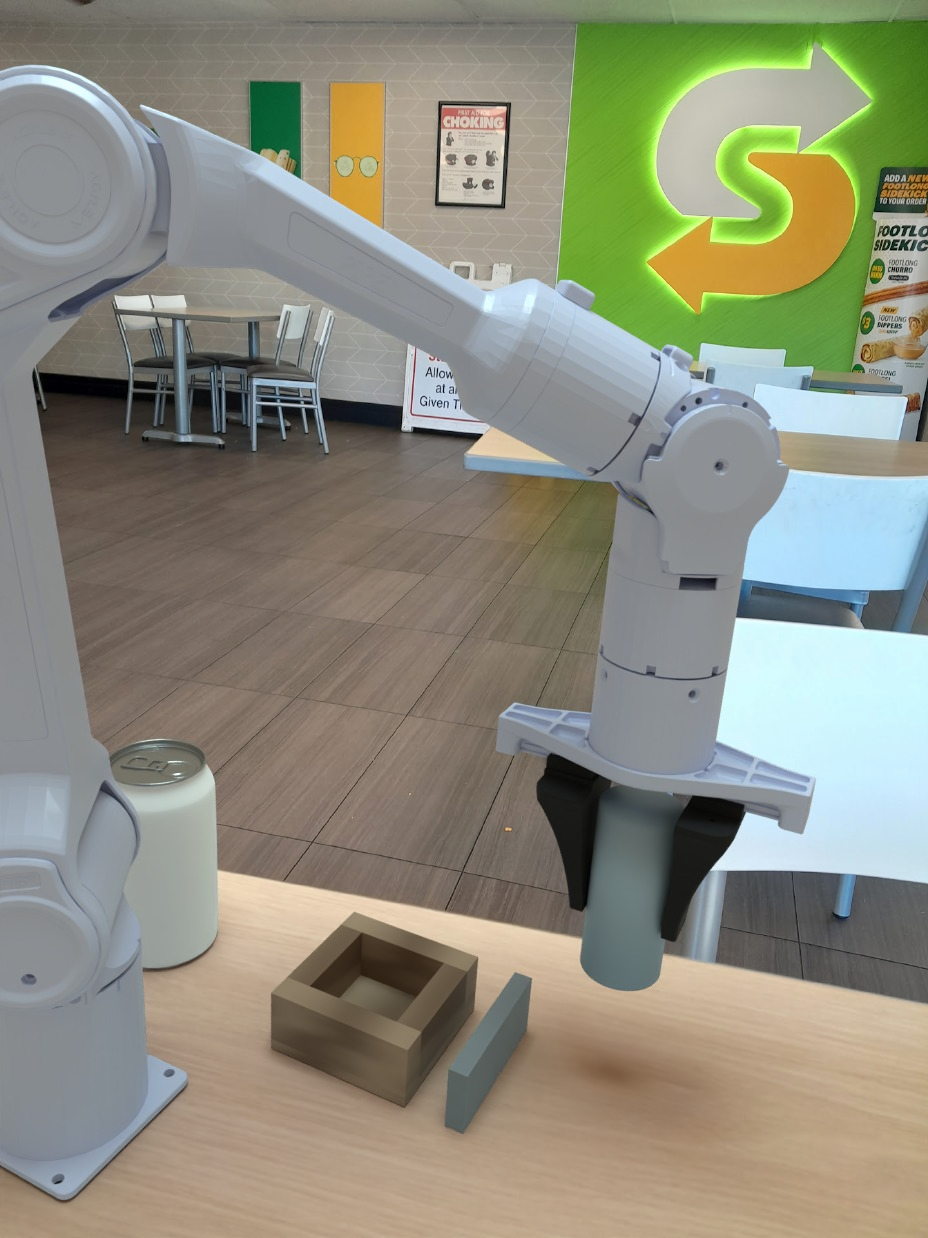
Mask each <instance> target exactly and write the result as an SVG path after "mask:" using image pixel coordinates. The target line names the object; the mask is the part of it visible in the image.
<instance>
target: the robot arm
mask: <svg viewBox="0 0 928 1238" xmlns="http://www.w3.org/2000/svg"><path fill="white" fill-rule="evenodd" d="M139 108H140V110H141V111H142V112H143V114H144V115H145V117H146V118H147V119H148V121H150V124H151V126H152V127H153V129H154V130H155V132H156V133H155V132H154V131H153V130H152V129H150V128H149V127H147V126H146V125H145V124H143V123H142V122H141V121H140V120H138V119H135V118H134V117H132V116H131V114H130V113H129V112H128V110H127V109H126V108H125V106H123V105H122V104H121V103H120V102H119V101H118V100H117V99H116V98H115V97H114V95H112V94H111V93H109V92H108V91H107V90H105V89H104V88H102V87H101V86H100V85H98V83H95V82H94V81H91V80H90V79H88V78H87V77H85V76H83V75H81V74H78V73H75V72H72V71H70V70H67V69H65V68H61V67H57V66H56V67H55V66H51V65H43V64H42V65H41V64H25V65H20V66H19V65H18V66H12V67H9V68H6V69H3V70H0V1166H1V1167H2V1168H5V1170H7V1171H10V1172H11V1173H13V1174H15V1175H17V1176H18V1177H20V1178H21V1179H23V1180H25V1181H26V1182H29V1183H30V1184H31V1185H33V1186H35V1187H37V1188H38V1189H40V1190H42V1191H44V1192H46V1193H48V1194H49V1195H51V1196H53V1197H54V1198H56V1199H58V1200H60V1201H66V1200H70V1199H72V1198H73V1197H75V1196H76V1195H77V1194H78V1193H79V1192H81V1190H82V1189H83V1188H85V1186H86V1185H87V1184H88V1183H89V1182H90V1181H91V1180H92V1179H93V1178H94V1177H95V1176H96V1175H98V1173H100V1171H101V1170H102V1169H104V1168H105V1166H106V1165H107V1164H109V1163H110V1161H112V1160H113V1158H114V1157H116V1155H118V1154H119V1152H120V1151H121V1150H123V1148H125V1146H127V1144H128V1143H130V1142H131V1140H133V1139H134V1137H136V1136H137V1135H138V1134H139V1133H140V1132H141V1131H142V1130H143V1128H144V1127H146V1126H147V1124H149V1123H150V1122H151V1121H152V1120H153V1119H154V1118H155V1117H156V1116H157V1115H158V1114H159V1113H160V1112H161V1111H162V1110H163V1109H164V1108H165V1107H166V1106H167V1105H168V1104H169V1103H170V1102H171V1101H172V1100H173V1099H174V1098H175V1097H176V1096H177V1095H178V1094H179V1093H180V1092H181V1091H182V1090H183V1089H184V1088H185V1087H186V1086H187V1084H188V1081H189V1078H188V1073H187V1072H186V1071H185V1070H183V1069H181V1068H179V1067H177V1066H175V1065H173V1064H171V1063H169V1062H167V1061H164V1060H162V1059H160V1058H158V1057H156V1056H154V1055H151V1054H149V1053H148V1050H147V1049H148V1046H147V1027H146V1009H145V1006H146V1005H145V1004H146V1003H145V989H144V987H145V986H144V974H143V973H144V971H143V970H144V969H143V965H142V945H141V929H140V924H139V922H138V919H137V917H136V916H135V914H134V912H133V910H132V909H131V907H130V905H129V903H128V901H127V899H126V897H125V894H124V892H123V889H124V886H125V883H126V879H127V876H128V873H129V869H130V867H131V865H132V863H133V861H134V860H135V858H136V856H137V855H138V852H139V848H140V844H141V837H142V830H141V823H140V819H139V816H138V813H137V811H136V809H135V808H134V806H133V804H132V803H131V802H130V800H129V799H128V798H127V797H126V795H125V794H124V793H123V792H122V791H121V790H120V788H119V786H118V785H117V783H116V781H115V779H114V777H113V774H112V770H111V766H110V760H109V755H110V754H109V751H108V749H107V748H106V747H105V746H104V745H103V744H102V743H101V742H100V741H98V740H97V739H96V738H94V736H93V734H92V732H91V731H92V730H91V725H90V720H89V719H90V718H89V714H88V707H87V701H86V696H85V688H84V683H83V677H82V671H81V666H80V660H79V658H80V657H79V654H78V653H79V652H78V647H77V642H76V641H77V640H76V635H75V634H76V633H75V628H74V623H73V617H72V610H71V604H70V600H69V599H70V598H69V593H68V592H69V591H68V586H67V581H66V576H65V575H66V574H65V568H64V563H63V557H62V550H61V545H60V544H61V543H60V539H59V531H58V526H57V520H56V514H55V510H54V509H55V508H54V503H53V496H52V489H51V482H50V478H49V477H50V476H49V472H48V467H47V466H48V465H47V460H46V454H45V446H44V442H43V441H44V440H43V435H42V430H41V429H42V428H41V423H40V418H39V417H40V416H39V412H38V410H39V409H38V405H37V398H36V393H35V388H34V381H33V372H34V369H35V367H36V365H37V364H38V363H39V362H40V361H41V360H42V359H44V357H45V356H46V355H47V354H48V352H50V351H51V350H52V349H53V347H54V346H55V345H56V344H57V343H58V342H59V341H60V340H61V338H63V337H64V336H65V335H66V333H68V331H69V330H70V329H71V328H72V327H73V326H74V325H75V324H76V323H77V321H79V320H80V319H81V318H82V316H83V315H84V312H85V310H87V309H88V308H89V307H90V306H92V305H94V304H96V303H98V302H100V301H102V300H103V299H105V298H107V297H108V296H110V295H113V294H114V293H116V292H119V291H121V290H122V289H125V288H126V287H128V286H131V284H133V283H135V282H137V281H138V280H140V279H142V278H144V277H146V276H148V275H149V274H151V273H154V271H156V270H158V269H159V268H160V267H161V266H162V265H163V264H164V263H166V266H167V267H169V268H173V267H174V268H199V269H200V268H203V269H204V268H205V269H206V268H207V269H210V268H211V269H243V270H244V269H245V270H247V269H248V270H257V271H260V272H263V273H267V274H268V275H270V276H273V277H274V278H276V279H278V280H281V281H282V282H285V283H287V284H288V285H290V286H292V287H294V288H296V289H299V290H300V291H302V292H304V293H306V294H309V295H310V296H312V297H314V298H316V299H318V300H320V301H322V302H324V303H326V304H328V305H330V306H333V307H334V308H336V309H339V310H340V311H342V312H344V313H346V314H349V315H350V316H352V317H354V318H355V319H356V318H357V320H360V321H362V322H364V323H365V324H368V325H369V326H372V327H373V328H375V329H378V330H380V331H382V332H384V333H386V334H388V335H389V336H392V337H393V338H396V339H398V340H400V341H401V342H404V343H405V344H408V345H409V346H411V347H413V348H415V349H418V350H420V351H421V352H424V353H426V354H427V355H430V356H432V357H434V358H436V359H437V360H439V361H442V362H443V363H445V364H446V365H447V366H448V368H449V370H450V373H451V375H452V378H453V381H454V386H455V388H456V389H455V390H456V394H457V396H458V399H459V403H460V405H461V407H462V410H463V411H464V413H466V415H469V416H470V417H473V418H474V419H476V420H478V421H480V422H482V423H485V424H486V425H489V427H492V428H494V429H496V430H498V431H499V432H502V433H504V434H506V436H510V437H511V438H513V439H515V440H517V441H519V442H521V443H523V444H525V445H527V446H529V447H531V448H532V449H534V450H536V451H538V452H540V453H542V454H544V455H545V456H548V457H549V458H552V459H553V460H555V461H557V462H559V463H560V464H563V465H565V466H566V467H569V468H571V469H573V470H574V471H576V472H578V473H580V474H582V475H584V476H585V477H587V478H590V479H591V480H593V481H596V482H610V483H611V484H612V486H613V487H614V488H615V489H616V491H618V492H619V493H618V494H617V501H616V510H615V516H614V517H615V520H614V528H613V536H612V545H611V547H610V550H609V557H608V566H607V574H606V583H605V589H604V590H605V592H604V599H603V600H604V601H603V609H602V618H601V627H600V635H599V642H598V643H599V644H598V651H597V659H596V660H597V661H596V667H595V668H596V669H595V676H594V685H593V693H592V701H591V704H592V705H591V711H590V712H587V711H586V712H585V711H574V710H566V709H555V708H548V707H547V708H545V707H539V706H533V705H528V704H523V703H519V702H513V703H512V704H511V705H510V706H508V707H507V708H506V709H505V710H504V711H503V712H501V713H500V714H499V715H498V722H497V731H496V741H495V743H496V744H495V745H496V746H495V751H496V752H499V753H502V754H506V755H510V756H517V755H519V754H520V753H521V752H523V753H526V754H530V755H534V756H538V757H540V758H545V759H546V763H545V767H544V769H543V775H542V776H541V777H540V778H539V779H538V780H537V782H536V785H535V789H536V801H537V803H538V804H539V805H540V808H541V809H542V811H543V813H544V815H545V817H546V818H547V820H548V823H549V825H550V828H551V830H552V833H553V834H554V835H553V836H554V837H555V839H556V842H557V846H558V849H559V852H560V856H561V860H562V864H563V869H564V873H565V878H566V879H565V880H566V884H567V893H568V904H569V908H570V909H572V910H575V911H578V912H581V913H583V912H584V910H585V909H586V904H587V896H588V888H589V879H590V871H591V863H592V855H593V846H594V838H595V830H596V822H597V814H598V805H599V798H600V795H601V794H602V793H603V792H604V791H605V790H607V789H609V788H611V787H612V782H615V783H617V784H619V785H625V786H629V787H633V788H637V789H642V790H648V791H656V792H666V793H669V794H678V795H681V796H684V797H689V798H690V799H689V801H688V803H687V804H686V805H685V806H684V810H683V812H682V814H681V815H680V817H679V819H678V821H677V822H676V824H675V829H674V852H673V867H672V878H671V886H670V891H669V895H668V900H667V904H666V908H665V912H664V916H663V921H662V927H661V938H662V939H665V941H668V942H671V943H675V942H677V940H678V938H679V935H680V933H681V932H682V928H683V927H684V924H685V922H686V919H687V916H688V915H687V914H688V913H689V912H688V911H689V907H690V905H691V902H692V899H693V897H694V895H695V893H696V892H697V890H698V889H699V887H700V885H702V883H703V881H704V880H705V878H706V877H707V875H708V874H709V873H710V871H711V870H712V869H713V868H714V866H716V864H717V863H718V862H719V861H720V860H721V859H722V857H723V856H724V855H725V853H726V852H727V851H728V849H729V848H730V847H731V845H732V844H733V842H734V840H735V839H736V837H737V834H738V832H739V829H740V827H741V826H742V823H743V821H744V819H745V816H746V813H749V814H752V815H755V816H760V817H763V818H767V819H770V820H774V821H777V826H778V827H779V828H780V829H782V831H783V830H784V831H788V832H791V833H795V834H798V835H799V834H800V835H803V834H804V832H805V829H806V825H807V823H808V819H809V815H810V811H811V807H812V801H813V797H814V791H815V785H816V781H817V778H816V777H815V776H812V775H809V774H806V773H805V774H804V773H802V772H801V773H800V772H797V771H793V770H791V769H789V768H788V769H787V768H785V767H782V766H780V765H777V764H774V763H772V762H769V761H768V760H765V759H762V758H760V757H757V756H755V755H753V754H750V753H747V752H746V751H744V750H741V749H739V748H736V747H733V746H731V745H728V744H726V743H724V742H722V741H719V740H717V736H718V729H719V723H720V718H721V712H722V707H723V706H722V705H723V700H724V693H725V686H726V680H727V675H728V674H727V673H728V669H729V668H728V667H729V663H730V662H729V661H730V656H731V649H732V645H733V639H734V638H733V637H734V632H735V624H736V619H737V613H738V607H739V601H740V595H741V589H742V581H743V576H744V570H745V562H746V556H747V551H748V543H749V541H750V536H751V534H752V532H753V531H754V528H755V527H756V526H757V524H758V523H759V522H760V521H761V520H762V519H763V518H764V517H765V516H766V515H767V514H768V513H769V512H770V510H771V509H772V508H773V507H774V505H775V504H776V503H777V501H778V500H779V498H780V496H781V494H782V493H783V490H784V488H785V486H786V483H787V480H788V477H789V474H790V473H789V472H790V466H789V465H788V464H786V463H784V461H782V460H781V443H780V438H779V437H780V436H779V434H778V430H777V427H776V426H774V425H772V424H771V421H770V420H771V419H772V417H771V416H770V414H769V413H768V411H767V409H765V408H764V407H763V406H762V404H760V403H759V402H758V401H757V400H756V399H754V398H752V397H751V396H750V395H747V394H745V393H743V392H740V391H738V390H734V389H730V388H726V387H723V386H720V385H716V384H713V383H709V382H706V381H703V380H699V379H697V377H696V376H695V374H693V373H691V372H690V371H689V370H690V368H691V366H692V364H693V363H694V357H693V355H692V354H690V353H689V352H687V351H685V350H683V349H682V348H680V347H678V346H677V345H672V344H666V345H664V346H663V347H662V348H661V350H659V349H657V348H655V347H654V346H652V345H650V344H649V343H647V342H645V341H643V340H642V339H640V338H638V337H637V336H635V335H633V334H631V333H629V332H628V331H627V330H624V329H623V328H621V327H620V326H618V325H617V324H614V323H613V322H611V321H609V320H607V319H606V318H605V317H602V316H600V315H599V314H597V313H596V312H594V311H592V310H590V309H591V307H592V305H593V303H594V302H595V299H596V295H595V293H594V292H592V291H591V290H590V289H587V288H586V287H585V286H582V285H581V284H579V283H577V282H575V281H574V280H571V279H560V280H559V281H558V282H557V284H556V286H555V288H554V289H553V288H552V287H551V286H549V285H547V284H546V283H543V282H542V281H540V280H539V279H537V278H525V279H522V280H519V281H516V282H513V283H511V284H508V285H505V286H502V287H499V288H497V289H493V290H488V291H484V290H483V289H482V288H480V287H478V286H476V285H475V284H473V283H472V282H470V281H468V280H467V279H465V278H463V277H462V276H460V275H459V274H457V273H455V272H454V271H452V270H451V269H449V268H447V267H445V266H443V265H442V264H440V263H439V262H437V261H436V260H434V259H432V258H431V257H429V256H427V255H426V254H424V253H422V252H421V251H419V250H417V249H416V248H414V247H412V246H411V245H410V244H408V243H406V242H404V241H402V239H399V238H397V237H396V236H394V235H392V234H391V233H390V232H388V231H387V230H385V229H383V228H381V227H380V226H378V225H377V224H375V223H373V222H371V221H370V220H369V219H366V218H365V217H363V216H361V215H360V214H358V213H357V212H356V211H353V210H352V209H350V208H348V207H347V206H345V205H344V204H342V203H340V202H339V201H337V200H335V199H333V198H332V197H330V196H329V195H327V194H326V193H324V192H323V191H321V190H319V189H318V188H316V187H314V186H312V185H311V184H309V183H307V181H304V180H302V179H301V178H299V177H297V176H296V175H295V174H293V173H291V172H290V171H288V170H286V169H284V167H282V166H280V165H277V164H276V163H275V162H273V161H271V160H270V159H268V158H266V157H265V156H262V155H260V154H259V153H257V152H255V151H252V150H250V149H247V148H246V147H244V146H242V145H239V144H237V143H235V142H232V141H230V140H228V139H225V138H224V137H221V136H219V135H216V134H215V133H212V132H211V131H207V130H206V129H204V128H201V127H199V126H197V125H194V124H193V123H190V122H188V121H186V120H183V119H180V118H178V117H176V116H173V115H171V114H169V113H167V112H163V111H161V110H157V109H154V108H152V107H149V106H146V105H143V104H140V105H139ZM630 497H633V499H635V500H637V501H638V502H640V503H638V502H636V501H635V500H633V499H632V498H630ZM643 505H644V506H643ZM60 1181H61V1182H60ZM57 1182H60V1183H57Z"/></svg>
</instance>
